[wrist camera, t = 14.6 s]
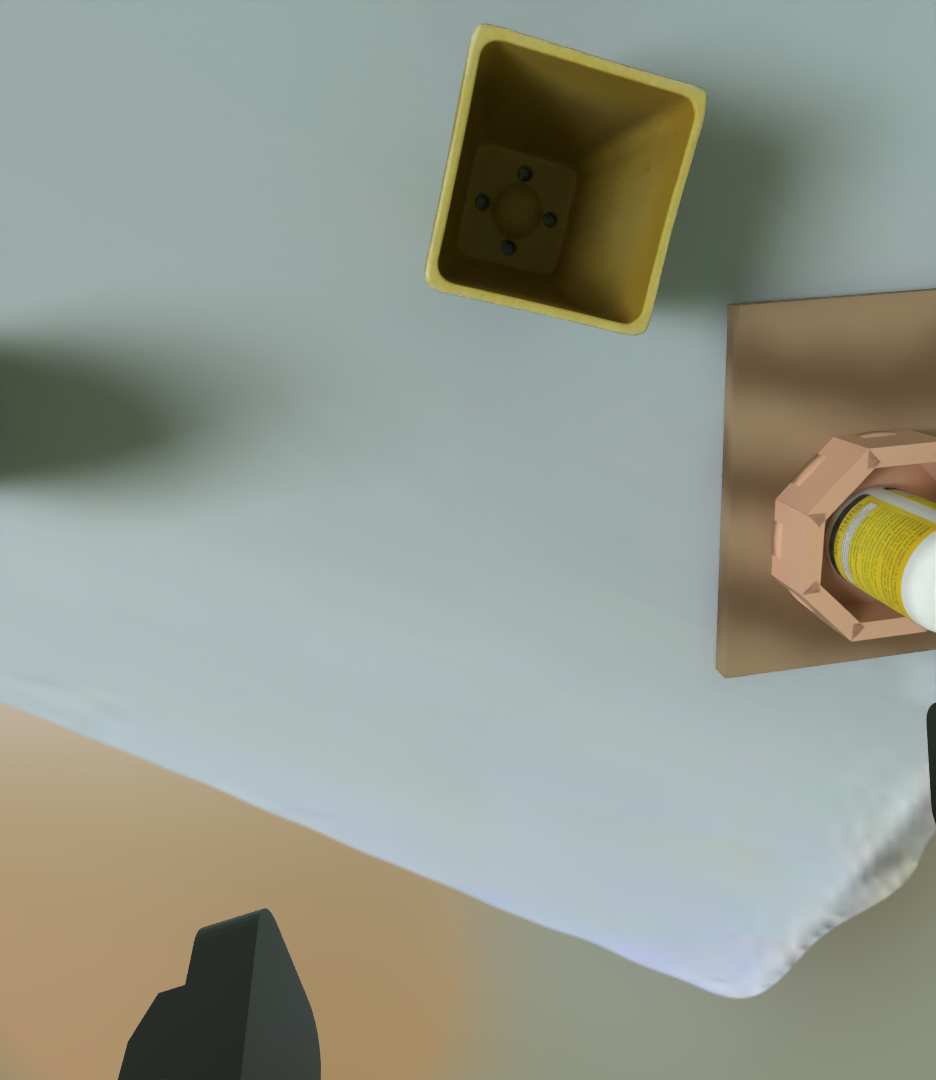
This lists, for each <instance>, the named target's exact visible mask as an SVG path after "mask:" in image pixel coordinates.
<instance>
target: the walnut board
mask: <svg viewBox="0 0 936 1080" xmlns="http://www.w3.org/2000/svg"><path fill="white" fill-rule="evenodd" d="M908 429H909V430H913V431H916V432H920V433H924V434H927V435H931V436H935V437H936V289H923V290H910V291H897V292H884V293H871V294H858V295H845V296H833V297H820V298H807V299H794V300H781V301H768V302H755V303H742V304H729V305H728V328H727V358H726V387H725V416H724V445H723V474H722V503H721V533H720V562H719V591H718V620H717V649H716V669H717V670H718V671H719V672H720V673H721V675H722V676H723V677H724V678H732V677H739V676H746V675H754V674H761V673H768V672H775V671H783V670H790V669H797V668H804V667H812V666H819V665H826V664H833V663H841V662H848V661H855V660H862V659H870V658H877V657H884V656H891V655H899V654H906V653H913V652H921V651H928V650H935V649H936V632H933V631H930V630H927V631H926V632H919V633H912V634H905V635H897V636H890V637H882V638H875V639H867V640H860V641H853V642H851V641H850V640H848V639H847V638H846V637H844V636H843V635H841V634H840V633H839V632H837V631H836V630H834V629H833V628H832V627H830V626H829V625H827V624H826V623H825V622H823V621H822V620H820V619H819V618H818V617H817V616H816V615H815V614H814V613H813V612H811V611H810V610H809V609H808V608H806V607H805V606H804V605H802V604H801V603H800V602H798V601H797V600H796V599H794V597H793V596H792V595H791V594H790V593H789V592H788V591H787V590H786V588H785V587H784V586H783V585H782V584H781V583H780V582H779V581H778V580H777V579H776V578H775V577H773V576H772V575H771V572H772V530H773V524H774V518H775V500H776V498H777V497H778V496H779V495H780V494H781V493H782V492H783V491H784V489H785V488H786V487H787V486H788V485H789V484H790V483H791V482H792V480H793V479H794V477H795V476H796V475H797V474H798V472H799V471H800V470H801V469H802V468H803V467H804V466H805V465H806V464H807V463H808V462H809V461H810V460H811V459H812V458H813V457H814V456H816V455H817V454H818V453H819V452H820V451H821V450H822V449H823V448H824V447H825V445H826V444H827V443H828V442H829V441H830V440H831V439H832V438H833V437H838V436H848V435H855V434H859V433H864V432H870V431H898V430H908Z"/></svg>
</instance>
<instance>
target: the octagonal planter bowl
mask: <svg viewBox="0 0 936 1080" xmlns="http://www.w3.org/2000/svg"><path fill="white" fill-rule="evenodd" d="M874 486H890V487H894V488H897V489H900V490H903V491H906V492H908V493H911V494H914V495H916V496H919V497H921V498H924V499H926V500H929V501H931V502H934V503H936V437H935V436H931V435H927V434H924V433H920V432H916V431H913V430H909V429H908V430H898V431H870V432H864V433H859V434H855V435H848V436H838V437H833V438H832V439H831V440H830V441H829V442H828V443H827V444H826V445H825V447H824V448H823V449H822V450H821V451H820V452H819V453H818V454H817V455H816V456H814V457H813V458H812V459H811V460H810V461H809V462H808V463H807V464H806V465H805V466H804V467H803V468H802V469H801V470H800V471H799V472H798V474H797V475H796V476H795V477H794V479H793V480H792V482H791V483H790V484H789V485H788V486H787V487H786V488H785V489H784V491H783V492H782V493H781V494H780V495H779V496H778V497H777V498H776V500H775V518H774V524H773V530H772V572H771V575H772V576H773V577H775V578H776V579H777V580H778V581H779V582H780V583H781V584H782V585H783V586H784V587H785V588H786V590H787V591H788V592H789V593H790V594H791V595H792V596H793V597H794V599H796V600H797V601H798V602H800V603H801V604H802V605H804V606H805V607H806V608H808V609H809V610H810V611H811V612H813V613H814V614H815V615H816V616H817V617H818V618H819V619H820V620H822V621H823V622H825V623H826V624H827V625H829V626H830V627H832V628H833V629H834V630H836V631H837V632H839V633H840V634H841V635H843V636H844V637H846V638H847V639H848V640H850V641H851V642H853V641H860V640H867V639H875V638H882V637H890V636H897V635H905V634H912V633H919V632H926V631H927V630H928V629H926V628H924V627H922V626H920V625H918V624H916V623H914V622H913V621H911V620H910V619H908V618H906V617H905V616H903V615H902V614H900V613H898V612H897V611H895V610H894V609H892V608H890V607H889V606H887V605H885V604H884V603H882V602H880V601H879V600H877V599H875V598H873V597H872V596H870V595H869V594H867V593H866V592H864V591H862V590H861V589H859V588H857V587H855V586H854V585H852V584H850V583H849V582H848V581H846V580H845V579H843V578H842V577H840V576H839V575H838V574H837V573H836V572H835V571H834V570H833V568H832V567H831V565H830V564H829V562H828V559H827V556H826V552H825V534H826V530H827V527H828V524H829V521H830V519H831V517H832V516H833V514H834V512H835V511H836V510H837V508H838V507H839V506H840V505H841V504H842V503H843V502H844V501H845V500H847V499H848V498H849V497H850V496H852V495H853V494H855V493H857V492H859V491H861V490H863V489H866V488H870V487H874Z"/></svg>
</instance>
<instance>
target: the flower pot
mask: <svg viewBox="0 0 936 1080" xmlns="http://www.w3.org/2000/svg"><path fill="white" fill-rule="evenodd" d="M706 108H707V93H706V91H705V90H703V89H702V88H699V87H697V86H694V85H691V84H688V83H685V82H681V81H677V80H674V79H670V78H667V77H663V76H660V75H657V74H653V73H650V72H647V71H643V70H640V69H636V68H633V67H629V66H626V65H623V64H619V63H616V62H613V61H610V60H607V59H603V58H600V57H596V56H593V55H590V54H587V53H584V52H581V51H578V50H575V49H571V48H568V47H564V46H561V45H558V44H554V43H551V42H548V41H545V40H543V39H540V38H536V37H533V36H529V35H526V34H522V33H519V32H516V31H513V30H510V29H507V28H504V27H499V26H495V25H491V24H480V25H479V26H478V27H477V28H476V29H475V31H474V33H473V35H472V38H471V41H470V45H469V50H468V55H467V60H466V65H465V69H464V74H463V79H462V83H461V87H460V93H459V99H458V104H457V110H456V115H455V121H454V126H453V131H452V136H451V142H450V147H449V152H448V157H447V162H446V167H445V172H444V177H443V182H442V187H441V192H440V197H439V201H438V206H437V211H436V216H435V221H434V226H433V231H432V236H431V241H430V245H429V250H428V254H427V259H426V264H425V279H426V283H427V284H428V286H430V287H431V288H432V289H434V290H436V291H439V292H442V293H447V294H452V295H457V296H461V297H465V298H470V299H474V300H479V301H484V302H489V303H493V304H498V305H502V306H507V307H511V308H516V309H520V310H525V311H529V312H534V313H538V314H542V315H547V316H551V317H555V318H559V319H563V320H568V321H572V322H576V323H580V324H584V325H588V326H592V327H596V328H600V329H604V330H608V331H612V332H616V333H621V334H625V335H635V336H636V335H640V334H642V333H644V332H645V331H646V329H647V327H648V325H649V322H650V319H651V315H652V311H653V307H654V304H655V300H656V295H657V291H658V287H659V283H660V278H661V273H662V270H663V266H664V262H665V258H666V254H667V250H668V246H669V242H670V237H671V234H672V230H673V226H674V222H675V219H676V215H677V211H678V208H679V204H680V201H681V198H682V194H683V191H684V187H685V184H686V180H687V177H688V174H689V171H690V167H691V163H692V160H693V156H694V153H695V149H696V146H697V143H698V139H699V136H700V133H701V130H702V126H703V122H704V118H705V114H706ZM523 167H525V168H528V169H529V170H530V173H531V175H530V178H529V179H528V180H527V181H522V180H521V179H520V178H519V175H518V173H519V170H520V169H521V168H523ZM479 196H485V197H486V198H487V199H488V206H487V207H486V208H485V209H480V208H478V207H477V204H476V200H477V198H478V197H479ZM546 214H552V215H553V216H554V217H555V223H554V225H552V226H550V227H549V226H546V225H545V224H544V216H545V215H546ZM507 241H510V242H512V243H513V244H514V250H513V252H512V253H510V254H506V253H504V252H503V250H502V246H503V244H504V243H505V242H507Z"/></svg>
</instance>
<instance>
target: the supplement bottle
mask: <svg viewBox="0 0 936 1080" xmlns="http://www.w3.org/2000/svg"><path fill="white" fill-rule="evenodd" d="M825 552H826V556H827V559H828V562H829V564H830V565H831V567H832V568H833V570H834V571H835V572H836V573H837V574H838V575H839V576H840V577H842V578H843V579H845V580H846V581H848V582H849V583H850V584H852V585H854V586H855V587H857V588H859V589H861V590H862V591H864V592H866V593H867V594H869V595H870V596H872V597H873V598H875V599H877V600H879V601H880V602H882V603H884V604H885V605H887V606H889V607H890V608H892V609H894V610H895V611H897V612H898V613H900V614H902V615H903V616H905V617H906V618H908V619H910V620H911V621H913V622H914V623H916V624H918V625H920V626H922V627H924V628H926V629H928V630H930V631H933V632H936V503H934V502H931V501H929V500H926V499H924V498H921V497H919V496H916V495H914V494H911V493H908V492H906V491H903V490H900V489H897V488H894V487H890V486H874V487H870V488H866V489H863V490H861V491H859V492H857V493H855V494H853V495H852V496H850V497H849V498H848V499H847V500H845V501H844V502H843V503H842V504H841V505H840V506H839V507H838V508H837V510H836V511H835V512H834V514H833V516H832V517H831V519H830V521H829V524H828V527H827V530H826V534H825Z"/></svg>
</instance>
